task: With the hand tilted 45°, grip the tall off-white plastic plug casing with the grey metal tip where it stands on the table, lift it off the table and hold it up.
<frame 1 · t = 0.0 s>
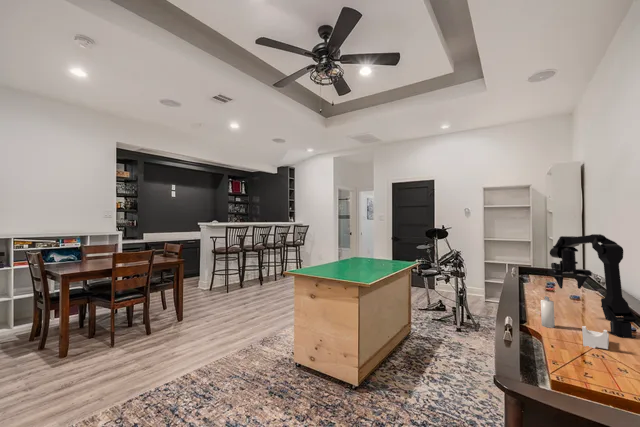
hand: (570, 288, 157), 15 cm above the table, tool pointing down, fingers open, 9 cm apart
bracket: (596, 345, 119), on the table
plug casing: (548, 326, 141), on the table
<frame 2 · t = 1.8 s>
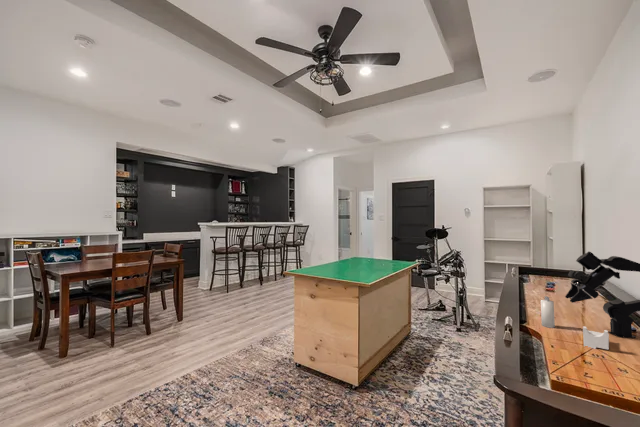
hand: (568, 299, 138), 13 cm above the table, tool tilted 45°, fingers open, 9 cm apart
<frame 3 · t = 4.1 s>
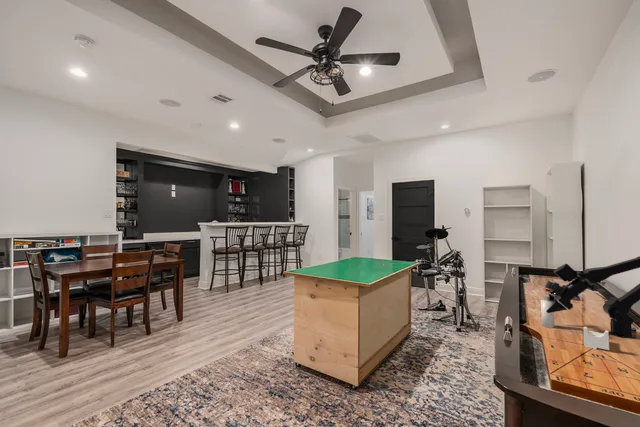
hand: (545, 309, 141), 8 cm above the table, tool tilted 45°, fingers open, 9 cm apart
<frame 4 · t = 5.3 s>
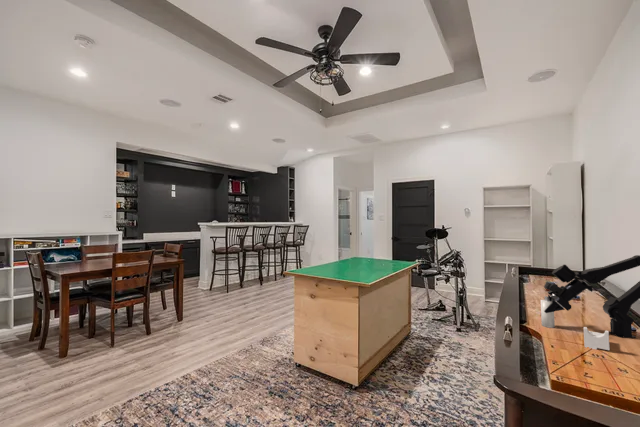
hand: (543, 310, 142), 7 cm above the table, tool tilted 45°, fingers closed on plug casing, 5 cm apart
plug casing: (548, 326, 141), on the table, touching gripper
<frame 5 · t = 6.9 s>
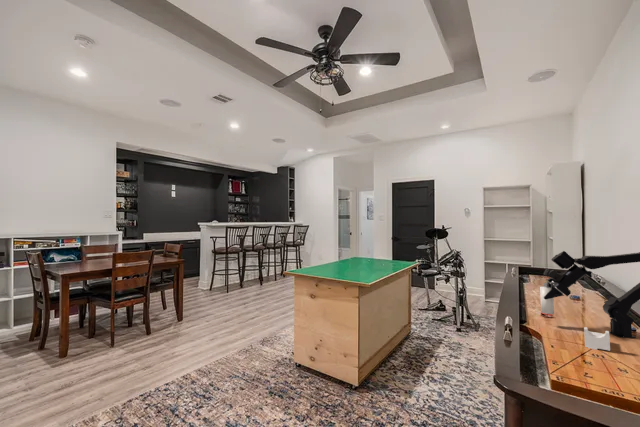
hand: (543, 297, 142), 13 cm above the table, tool tilted 45°, fingers closed on plug casing, 5 cm apart
plug casing: (547, 312, 141), point 6 cm above the table, touching gripper
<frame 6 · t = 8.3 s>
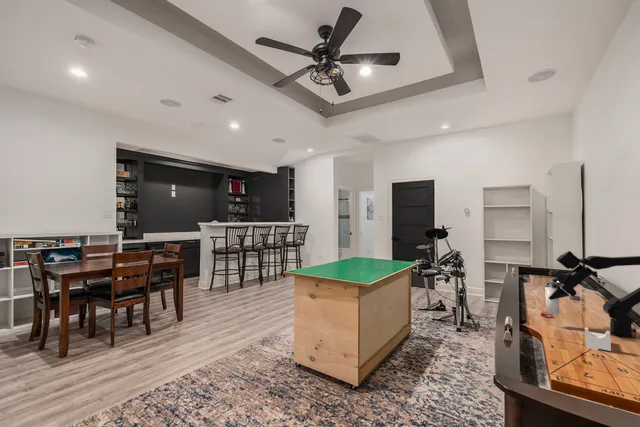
hand: (548, 297, 141), 14 cm above the table, tool tilted 45°, fingers closed on plug casing, 5 cm apart
plug casing: (552, 313, 140), point 6 cm above the table, touching gripper
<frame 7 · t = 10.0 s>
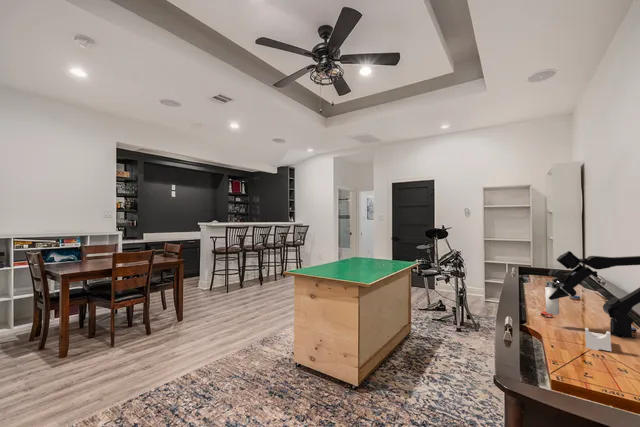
hand: (548, 297, 141), 14 cm above the table, tool tilted 45°, fingers closed on plug casing, 5 cm apart
plug casing: (552, 313, 140), point 6 cm above the table, touching gripper
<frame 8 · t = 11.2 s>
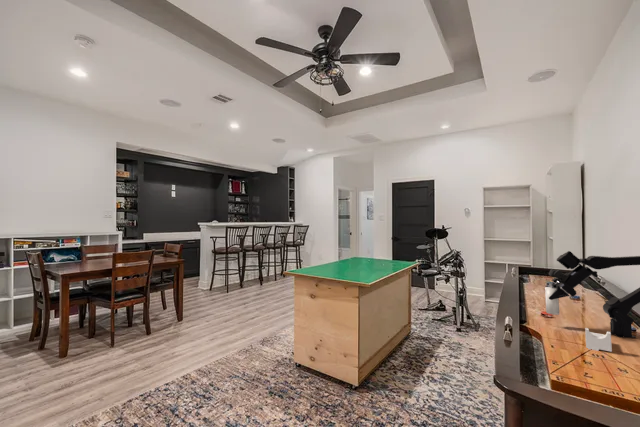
hand: (548, 297, 141), 14 cm above the table, tool tilted 45°, fingers closed on plug casing, 5 cm apart
plug casing: (552, 313, 140), point 6 cm above the table, touching gripper
at the end: the gripper is holding plug casing; plug casing point 6.4 cm above the table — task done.
